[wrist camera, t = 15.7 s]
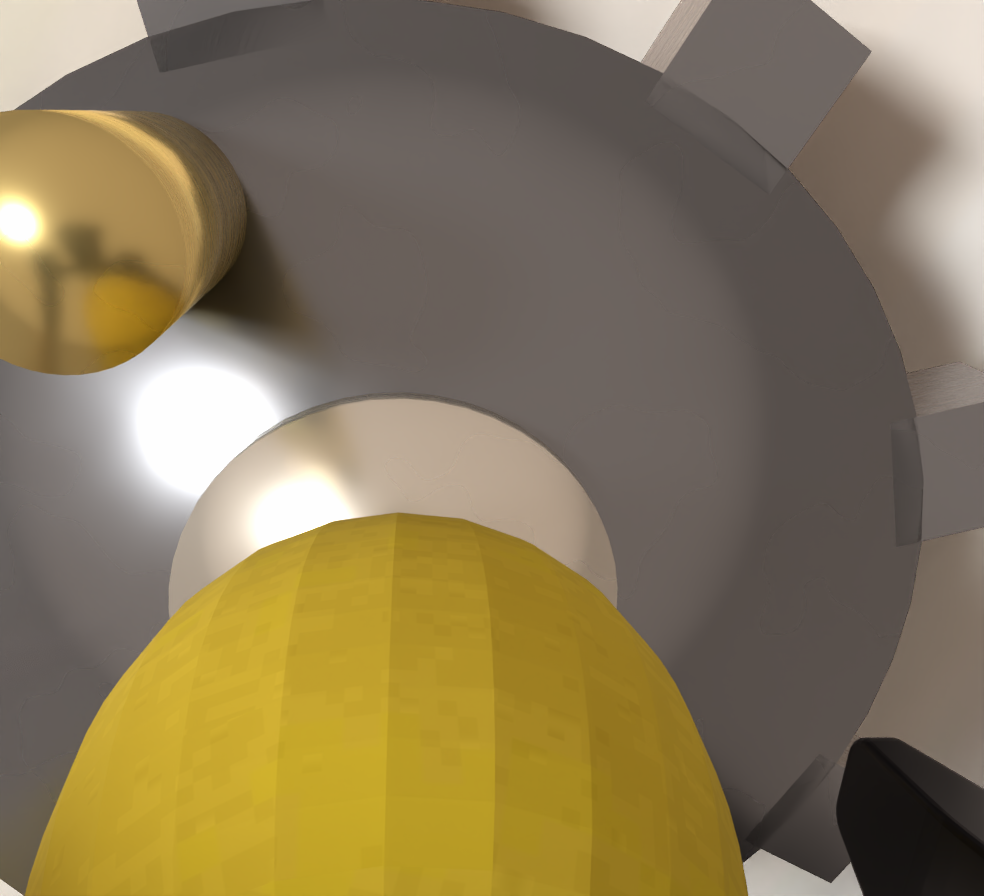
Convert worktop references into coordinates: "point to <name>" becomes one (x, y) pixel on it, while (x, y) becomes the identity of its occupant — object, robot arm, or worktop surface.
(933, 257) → the worktop surface
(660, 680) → the lemon
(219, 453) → the sprocket
